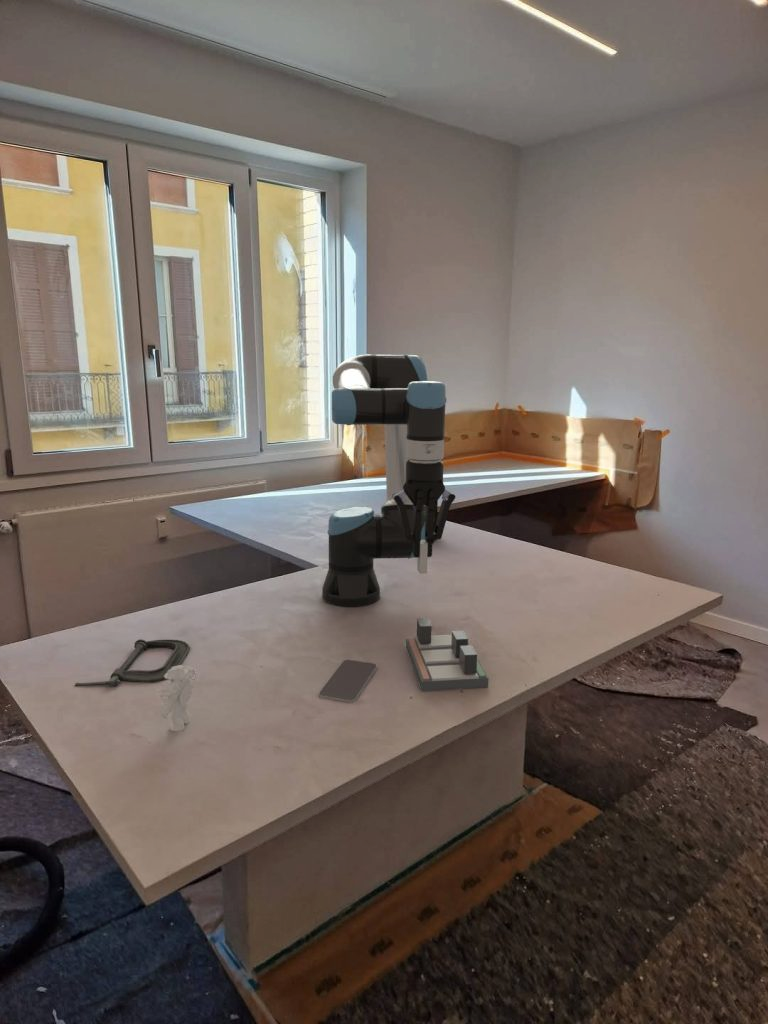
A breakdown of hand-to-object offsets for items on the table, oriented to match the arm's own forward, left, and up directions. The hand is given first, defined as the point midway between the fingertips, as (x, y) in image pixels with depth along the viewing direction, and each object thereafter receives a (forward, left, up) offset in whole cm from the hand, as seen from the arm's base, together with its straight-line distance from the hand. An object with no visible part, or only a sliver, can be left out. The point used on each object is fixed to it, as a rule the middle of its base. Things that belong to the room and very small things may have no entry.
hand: (422, 571), depth 136 cm
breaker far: (+1, 0, -15) cm, 15 cm away
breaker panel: (+4, -7, -18) cm, 20 cm away
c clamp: (-58, +1, -19) cm, 61 cm away
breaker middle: (+7, -7, -15) cm, 18 cm away
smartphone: (-16, -11, -19) cm, 27 cm away
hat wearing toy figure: (-46, -23, -18) cm, 55 cm away
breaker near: (+7, -14, -15) cm, 22 cm away
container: (+18, +87, -18) cm, 90 cm away
